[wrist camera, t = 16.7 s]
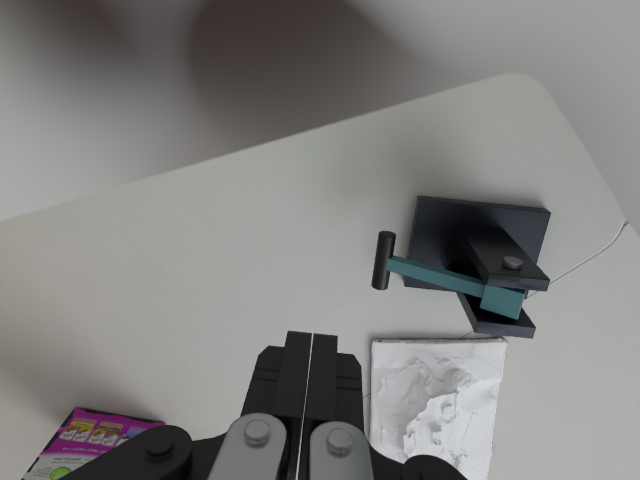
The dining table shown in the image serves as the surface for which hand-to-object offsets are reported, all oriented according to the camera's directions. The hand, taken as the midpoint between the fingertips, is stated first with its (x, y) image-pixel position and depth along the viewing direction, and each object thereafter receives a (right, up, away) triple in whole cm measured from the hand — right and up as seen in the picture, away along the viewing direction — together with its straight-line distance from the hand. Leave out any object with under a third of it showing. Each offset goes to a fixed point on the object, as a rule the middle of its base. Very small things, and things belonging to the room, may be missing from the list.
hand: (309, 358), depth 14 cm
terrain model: (+13, -17, +39) cm, 45 cm away
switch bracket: (+15, +3, +31) cm, 35 cm away
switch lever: (+11, +1, +25) cm, 27 cm away
